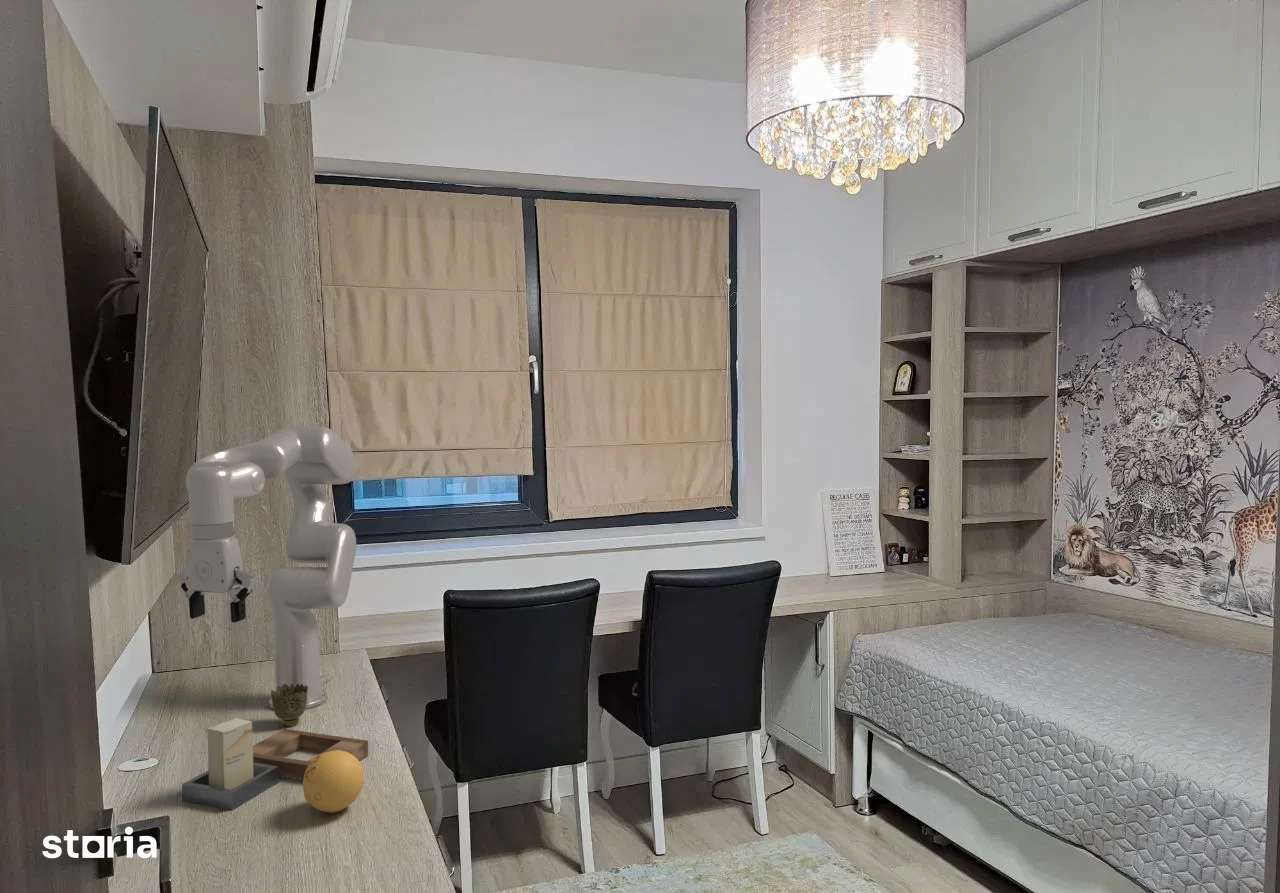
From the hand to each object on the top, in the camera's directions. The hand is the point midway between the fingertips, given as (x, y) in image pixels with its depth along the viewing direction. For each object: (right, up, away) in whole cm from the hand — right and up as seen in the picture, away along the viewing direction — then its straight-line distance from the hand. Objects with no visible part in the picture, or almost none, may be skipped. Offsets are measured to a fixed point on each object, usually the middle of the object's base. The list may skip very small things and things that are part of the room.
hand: (218, 618), depth 163 cm
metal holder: (+8, -29, -12) cm, 32 cm away
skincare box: (+8, -29, -11) cm, 32 cm away
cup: (+6, -27, +20) cm, 34 cm away
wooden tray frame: (+16, -28, 0) cm, 32 cm away
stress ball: (+29, -29, -18) cm, 45 cm away
